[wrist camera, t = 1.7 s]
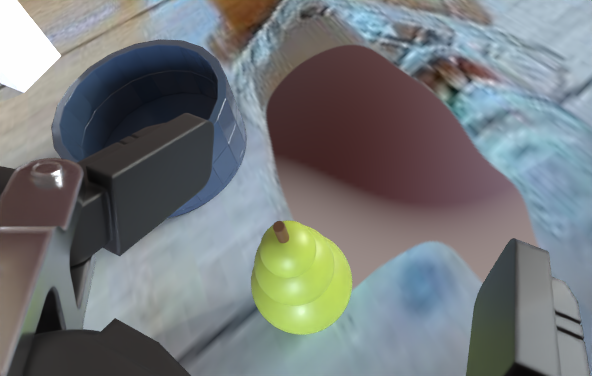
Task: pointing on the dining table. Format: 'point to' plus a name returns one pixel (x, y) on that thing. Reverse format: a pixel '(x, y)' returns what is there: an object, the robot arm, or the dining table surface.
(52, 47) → the milk
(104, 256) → the dining table surface
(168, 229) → the dining table surface
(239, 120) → the pot
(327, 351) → the dining table surface
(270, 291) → the pear
